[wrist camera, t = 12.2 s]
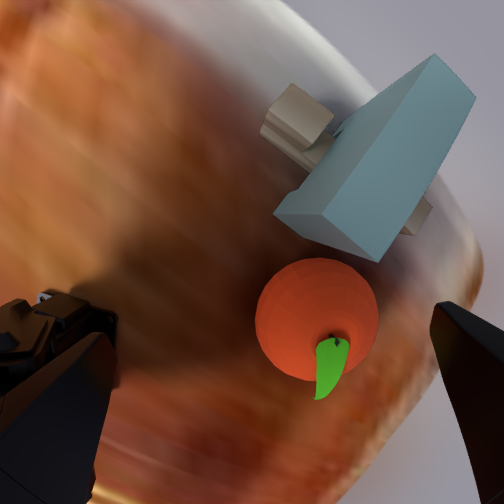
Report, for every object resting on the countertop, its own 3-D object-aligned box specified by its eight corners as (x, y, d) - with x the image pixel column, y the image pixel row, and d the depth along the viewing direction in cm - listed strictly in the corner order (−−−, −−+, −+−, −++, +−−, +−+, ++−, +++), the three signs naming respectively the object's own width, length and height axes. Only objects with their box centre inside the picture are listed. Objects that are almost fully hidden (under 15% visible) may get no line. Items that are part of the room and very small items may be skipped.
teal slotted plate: (302, 237, 20) (378, 262, 10) (272, 213, 20) (321, 214, 9) (370, 144, 20) (476, 97, 9) (343, 120, 20) (434, 53, 9)
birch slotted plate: (376, 230, 21) (415, 235, 16) (259, 134, 20) (268, 110, 15) (392, 207, 21) (432, 207, 16) (277, 111, 19) (292, 82, 14)
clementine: (344, 362, 22) (385, 415, 15) (248, 365, 21) (256, 427, 14) (356, 252, 21) (411, 269, 14) (252, 248, 20) (264, 267, 13)
